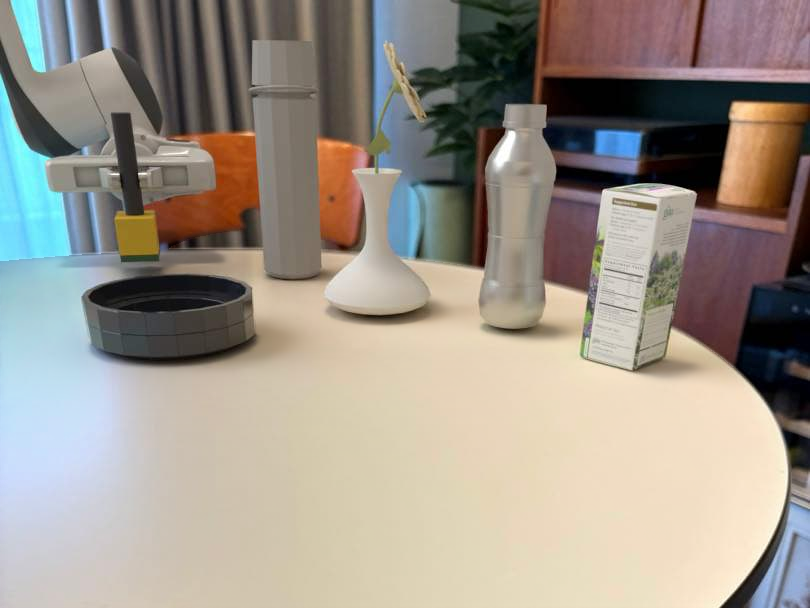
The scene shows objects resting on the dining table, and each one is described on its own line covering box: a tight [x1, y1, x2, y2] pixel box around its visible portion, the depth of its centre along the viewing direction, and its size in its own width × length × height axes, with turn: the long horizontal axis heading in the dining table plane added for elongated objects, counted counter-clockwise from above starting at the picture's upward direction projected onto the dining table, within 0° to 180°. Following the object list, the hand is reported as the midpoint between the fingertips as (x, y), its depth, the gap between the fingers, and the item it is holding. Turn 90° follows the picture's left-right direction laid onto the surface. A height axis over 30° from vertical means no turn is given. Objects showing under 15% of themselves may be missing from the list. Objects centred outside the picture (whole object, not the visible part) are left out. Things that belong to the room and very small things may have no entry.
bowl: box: [80, 273, 256, 361], centre depth 78 cm, size 15×15×4 cm
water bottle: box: [248, 39, 323, 280], centre depth 98 cm, size 9×8×25 cm
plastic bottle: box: [477, 103, 557, 330], centre depth 79 cm, size 6×7×20 cm
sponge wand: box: [111, 112, 161, 263], centre depth 99 cm, size 4×6×16 cm
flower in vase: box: [323, 39, 432, 316], centre depth 83 cm, size 13×11×25 cm
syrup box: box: [579, 183, 698, 371], centre depth 72 cm, size 6×6×14 cm
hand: (129, 181), depth 98 cm, fingers closed on sponge wand, 2 cm apart
